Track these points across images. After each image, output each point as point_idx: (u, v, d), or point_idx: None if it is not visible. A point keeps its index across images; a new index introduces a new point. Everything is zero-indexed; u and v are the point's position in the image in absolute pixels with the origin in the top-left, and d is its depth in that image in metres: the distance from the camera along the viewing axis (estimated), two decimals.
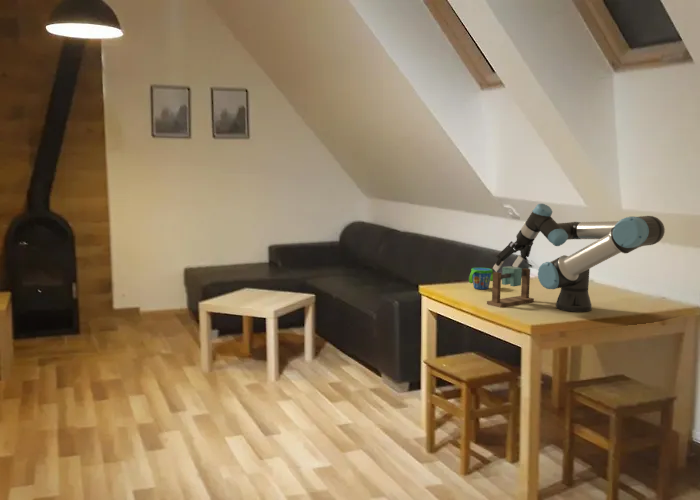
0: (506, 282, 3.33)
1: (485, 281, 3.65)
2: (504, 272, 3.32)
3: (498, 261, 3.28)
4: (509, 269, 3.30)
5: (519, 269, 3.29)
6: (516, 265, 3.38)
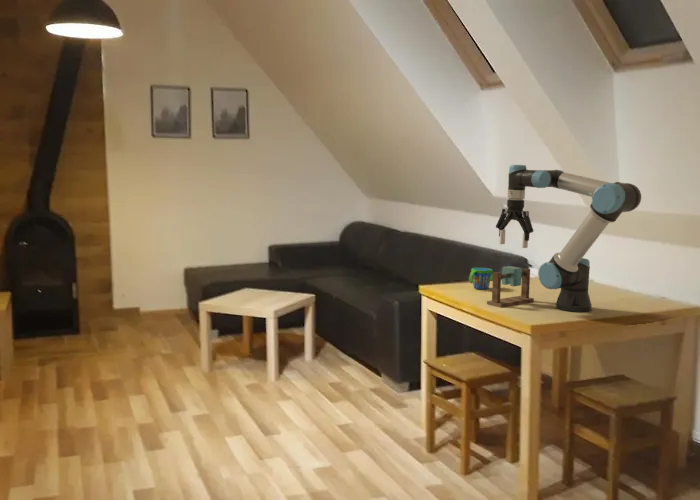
0: (506, 282, 3.33)
1: (485, 281, 3.65)
2: (504, 272, 3.32)
3: (528, 236, 3.23)
4: (509, 269, 3.30)
5: (519, 269, 3.29)
6: (503, 240, 3.35)
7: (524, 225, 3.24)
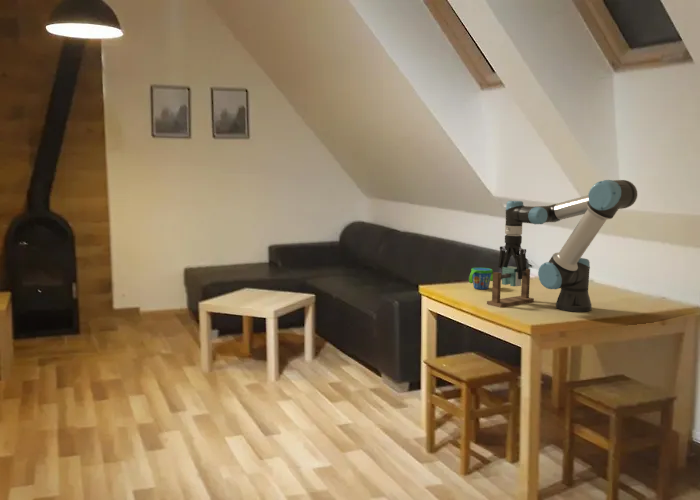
0: (506, 282, 3.33)
1: (485, 281, 3.65)
2: (504, 272, 3.32)
3: (521, 274, 3.28)
4: (509, 269, 3.30)
5: None
6: None
7: (519, 263, 3.28)
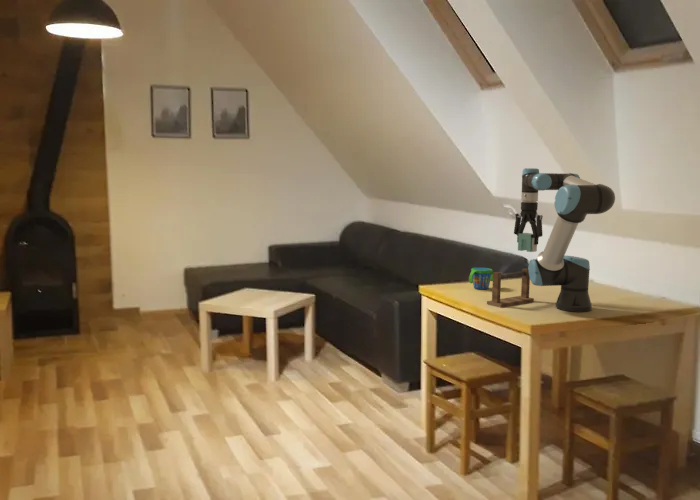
0: (522, 248, 3.40)
1: (485, 281, 3.65)
2: (520, 238, 3.40)
3: (537, 240, 3.36)
4: (525, 235, 3.37)
5: None
6: None
7: (535, 229, 3.36)
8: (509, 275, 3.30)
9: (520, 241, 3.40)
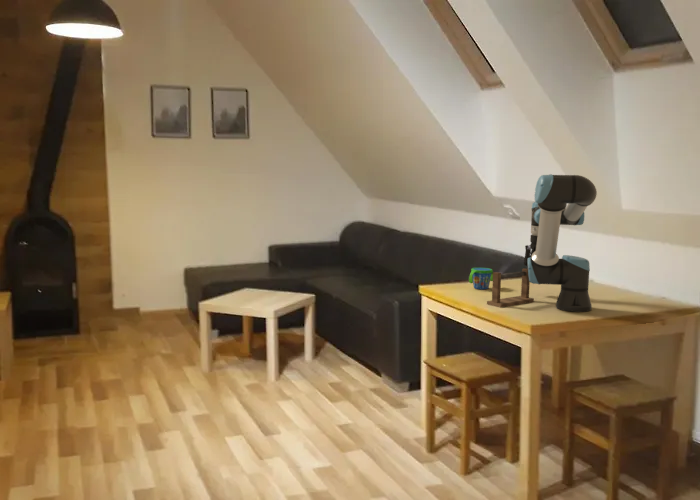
0: None
1: (485, 281, 3.65)
2: None
3: None
4: None
5: None
6: None
7: None
8: (509, 275, 3.30)
9: None
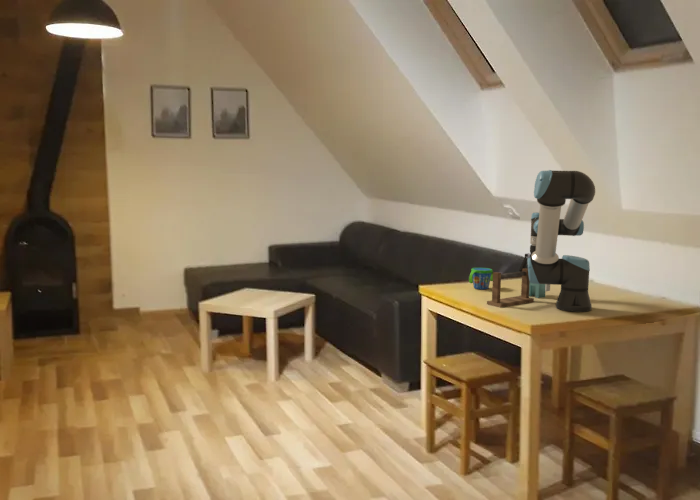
0: (531, 294, 3.51)
1: (485, 281, 3.65)
2: None
3: None
4: None
5: None
6: None
7: None
8: (509, 275, 3.30)
9: (529, 287, 3.50)
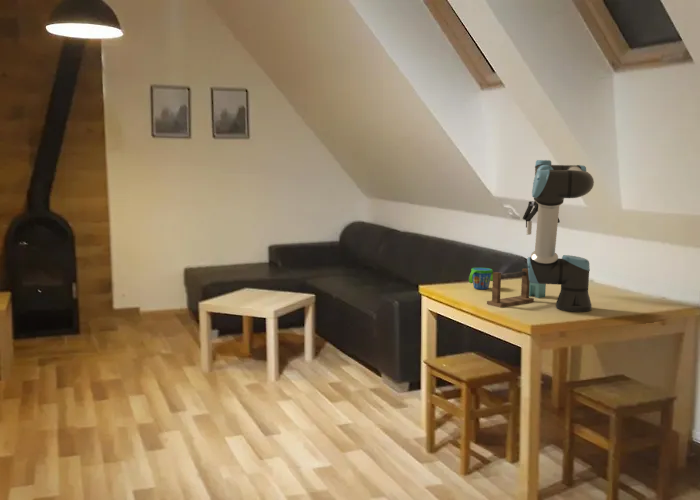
0: (531, 294, 3.51)
1: (485, 281, 3.65)
2: None
3: None
4: None
5: None
6: (530, 230, 3.59)
7: None
8: (509, 275, 3.30)
9: (529, 287, 3.50)
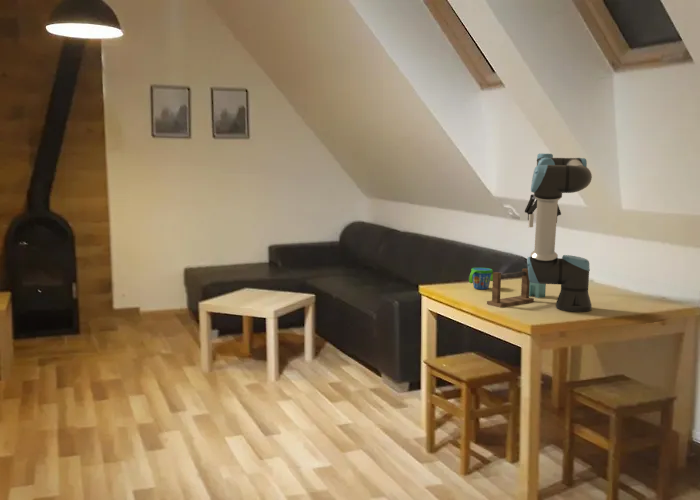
0: (531, 294, 3.51)
1: (485, 281, 3.65)
2: None
3: None
4: None
5: None
6: (532, 223, 3.64)
7: None
8: (509, 275, 3.30)
9: (529, 287, 3.50)
